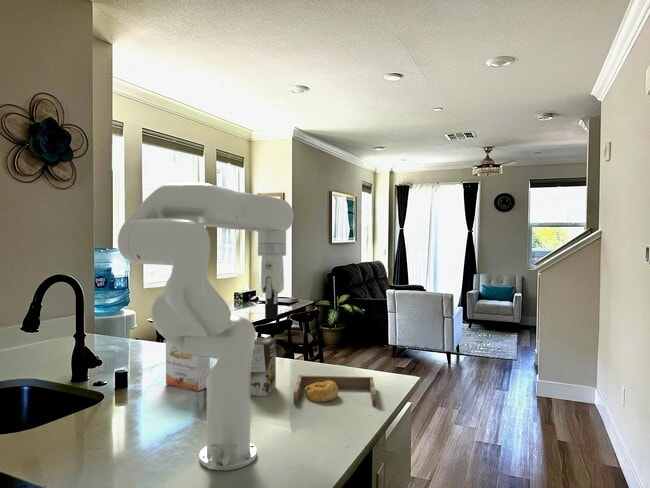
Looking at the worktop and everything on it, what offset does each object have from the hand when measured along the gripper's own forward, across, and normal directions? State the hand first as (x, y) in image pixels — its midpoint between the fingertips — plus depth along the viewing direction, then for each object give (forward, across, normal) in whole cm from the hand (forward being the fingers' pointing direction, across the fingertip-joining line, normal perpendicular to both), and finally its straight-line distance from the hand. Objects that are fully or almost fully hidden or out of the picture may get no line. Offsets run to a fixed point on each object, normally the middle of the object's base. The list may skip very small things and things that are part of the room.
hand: (271, 318), depth 124 cm
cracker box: (+27, +24, +31) cm, 48 cm away
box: (+27, +18, -17) cm, 37 cm away
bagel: (+28, +17, -13) cm, 35 cm away
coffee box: (+27, +21, +6) cm, 35 cm away
